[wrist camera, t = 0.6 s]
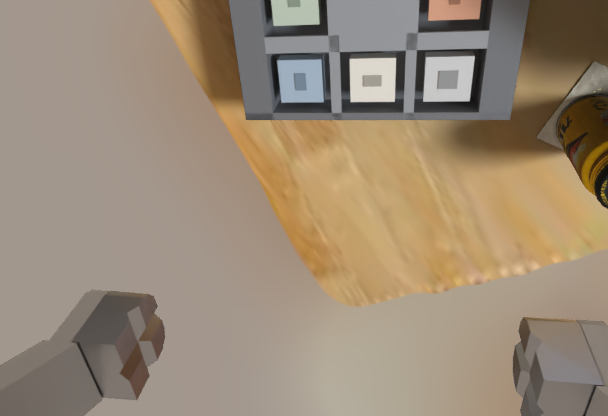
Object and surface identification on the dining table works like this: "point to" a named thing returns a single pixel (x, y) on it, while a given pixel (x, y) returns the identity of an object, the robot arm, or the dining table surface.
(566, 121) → the condiment
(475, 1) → the key terracotta
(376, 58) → the key cream
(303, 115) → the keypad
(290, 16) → the key sage
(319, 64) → the key blue
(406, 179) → the dining table surface
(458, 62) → the key grey
